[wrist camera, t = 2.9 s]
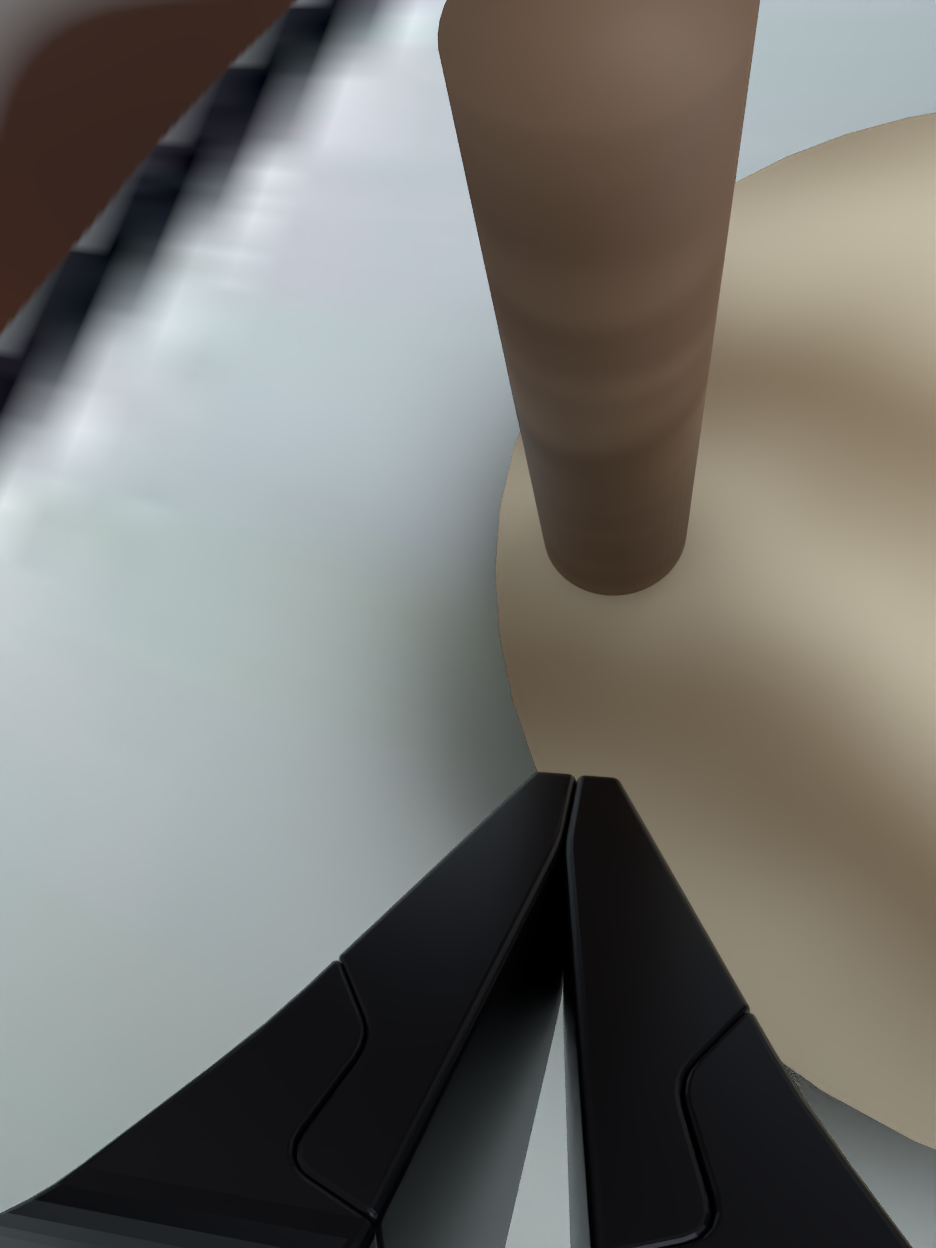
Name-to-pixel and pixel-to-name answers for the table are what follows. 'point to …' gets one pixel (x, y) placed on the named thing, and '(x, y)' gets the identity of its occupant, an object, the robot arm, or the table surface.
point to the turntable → (724, 499)
